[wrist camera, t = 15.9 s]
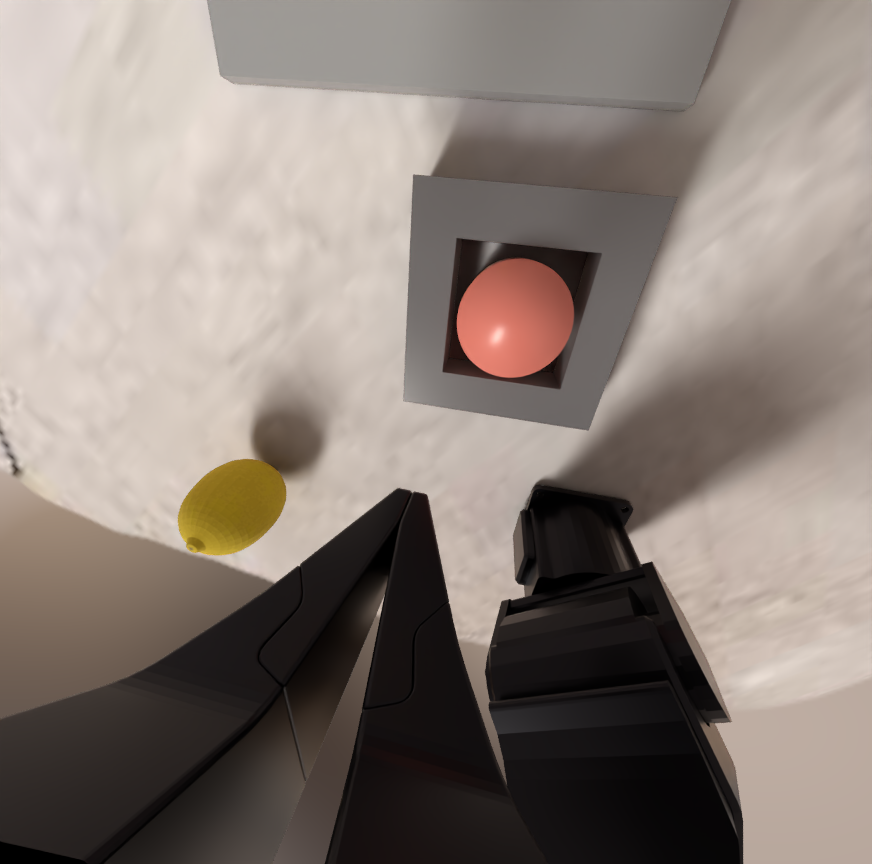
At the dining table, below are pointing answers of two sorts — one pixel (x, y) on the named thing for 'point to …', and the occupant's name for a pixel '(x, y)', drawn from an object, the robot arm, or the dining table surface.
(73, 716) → the robot arm
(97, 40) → the dining table surface
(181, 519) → the lemon
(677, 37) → the picture board
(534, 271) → the button
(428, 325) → the button frame
